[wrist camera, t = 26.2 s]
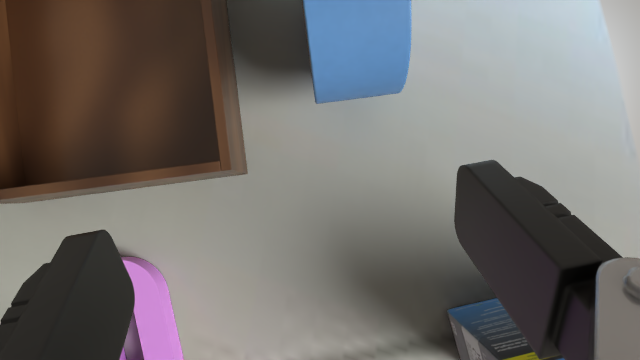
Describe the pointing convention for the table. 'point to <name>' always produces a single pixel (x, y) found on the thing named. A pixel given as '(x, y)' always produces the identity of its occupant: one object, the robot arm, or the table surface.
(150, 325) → the bracket
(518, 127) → the table surface
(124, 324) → the robot arm
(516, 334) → the blue retail box
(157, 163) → the wooden box
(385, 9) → the tape roll
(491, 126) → the table surface
